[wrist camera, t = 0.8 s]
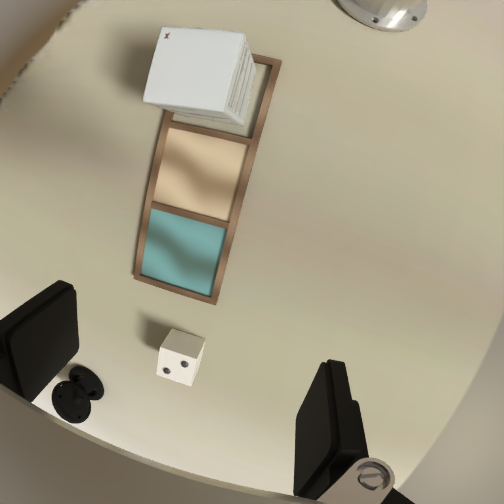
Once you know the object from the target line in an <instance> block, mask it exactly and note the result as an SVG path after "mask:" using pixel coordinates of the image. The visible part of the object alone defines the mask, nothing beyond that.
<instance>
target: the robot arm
mask: <svg viewBox="0 0 504 504" xmlns="http://www.w3.org/2000/svg"><path fill="white" fill-rule="evenodd" d="M337 1H338V3H339V4H340V5H341V7H342V8H343V9H344V10H345V11H346V12H347V13H348V14H350V15H351V16H352V17H354V18H355V19H356V20H358V21H360V22H362V23H363V24H365V25H367V26H370V27H372V28H375V29H379V30H382V31H389V32H402V31H406V30H409V29H411V28H413V27H415V26H416V25H418V24H419V23H420V22H421V21H422V19H423V18H424V17H425V14H426V12H427V0H337ZM373 21H374V22H375V23H374V22H373ZM78 349H79V336H78V321H77V299H76V290H74V287H73V285H72V284H69V283H67V282H64V281H62V280H58V281H57V282H55V283H54V284H52V285H50V286H49V287H47V288H46V289H44V290H43V291H41V292H40V293H39V294H37V295H36V296H34V297H33V298H31V299H30V300H28V301H27V302H25V303H24V304H22V305H21V306H20V307H18V308H17V309H15V310H14V311H13V312H11V313H10V314H8V315H7V316H6V317H4V318H3V319H1V320H0V504H415V503H413V502H412V501H410V500H409V499H408V498H406V497H405V496H404V495H402V494H401V493H399V492H398V491H397V490H395V489H394V488H393V485H394V483H395V476H394V473H393V471H392V469H391V468H390V466H388V465H387V464H386V463H385V462H383V461H381V460H379V459H376V458H369V455H368V449H367V444H366V438H365V433H364V428H363V422H362V417H361V412H360V407H359V404H358V402H357V401H356V400H352V397H351V392H350V387H349V382H348V376H347V372H346V367H345V363H344V362H341V361H336V360H331V359H329V360H328V361H327V362H326V363H325V362H322V363H321V364H320V367H319V369H318V371H317V373H316V375H315V378H314V380H313V382H312V384H311V386H310V388H309V391H308V393H307V395H306V397H305V399H304V401H303V403H302V405H301V407H300V409H299V411H298V414H297V417H296V433H295V465H294V489H293V494H294V496H291V495H286V494H281V493H276V492H270V491H264V490H259V489H254V488H249V487H245V486H240V485H236V484H231V483H227V482H223V481H219V480H215V479H211V478H207V477H203V476H200V475H196V474H193V473H189V472H186V471H183V470H179V469H176V468H173V467H170V466H167V465H164V464H161V463H158V462H155V461H153V460H150V459H147V458H144V457H142V456H139V455H136V454H134V453H131V452H129V451H126V450H124V449H121V448H119V447H117V446H114V445H112V444H110V443H107V442H105V441H103V440H101V439H98V438H96V437H94V436H92V435H90V434H88V433H86V432H83V431H81V430H79V429H77V428H75V427H73V426H72V425H70V424H68V423H66V422H64V421H62V420H60V419H58V418H56V417H55V416H53V415H51V414H49V413H47V412H46V411H44V410H42V409H40V408H39V407H37V406H35V405H34V404H32V403H31V402H32V401H33V400H34V399H35V398H36V397H37V396H38V395H39V393H40V392H41V391H42V390H43V389H44V388H45V387H46V386H47V385H48V383H49V382H50V381H51V380H52V379H53V378H54V377H55V376H56V375H57V374H58V373H59V371H60V370H61V369H62V368H63V367H64V366H65V365H66V364H67V363H68V362H69V361H70V360H71V359H72V358H73V356H74V355H75V354H76V353H77V352H78ZM297 496H298V497H297Z"/></svg>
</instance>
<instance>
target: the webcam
mask: <svg viewBox="0 0 504 504" xmlns="http://www.w3.org/2000/svg"><path fill="white" fill-rule="evenodd" d="M78 374H81V375H83V376H84V377H83V379H81V380H79V381H77V379H76V375H78ZM69 379H70V381H62V382H60V383H58V384H57V385H56V386H55V387H54V389H53V392H52V404H53V406H54V409H55V410H56V412H57V413H58V414H59V416H60V417H61V418H62V419H64V420H66V421H68V422H69V423H82V422H84V421H85V420H86V419H87V418H88V417H89V415H90V412H91V402H90V400H99V399H101V398H102V396H103V395H104V388H103V385H102V383H101V381H100V380H99V378H98V377H97V376H96V375H95V374H94V373H93V372H91V371H90V370H88V369H86V368H84V367H79V366H77V367H74V368H72V369H71V370H70V373H69ZM61 385H62V386H61ZM93 390H96V393H91V392H92V391H93Z"/></svg>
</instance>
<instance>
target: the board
mask: <svg viewBox="0 0 504 504" xmlns="http://www.w3.org/2000/svg"><path fill="white" fill-rule="evenodd" d="M251 55H252V58H253V61H254V62H255V63H259V64H264V65H268V66H272V69H271V73H270V76H269V80H268V83H267V87H266V90H265V94H264V97H263V101H262V104H261V108H260V111H259V115H258V118H257V122H256V125H255V129H254V133H253V136H252V139H249V138H245V137H241V136H237V135H233V134H228V133H224V132H220V131H215V130H211V129H206V128H202V127H197V126H192V125H187V124H182V123H177V122H172V119H173V115H174V112H171V111H169V110H166V112H165V116H164V119H163V123H162V127H161V131H160V135H159V140H158V144H157V148H156V153H155V157H154V161H153V166H152V171H151V176H150V180H149V185H148V191H147V196H146V201H145V207H144V212H143V218H142V224H141V230H140V236H139V243H138V249H137V257H136V264H135V271H134V279H135V280H138V281H141V282H144V283H147V284H150V285H153V286H156V287H159V288H162V289H165V290H168V291H171V292H174V293H177V294H181V295H184V296H187V297H190V298H193V299H196V300H200V301H203V302H206V303H209V304H213V305H216V304H217V300H218V296H219V292H220V288H221V284H222V280H223V276H224V272H225V269H226V265H227V261H228V257H229V253H230V249H231V245H232V241H233V237H234V234H235V230H236V226H237V222H238V218H239V214H240V211H241V207H242V203H243V199H244V196H245V192H246V188H247V184H248V181H249V177H250V173H251V170H252V166H253V162H254V159H255V155H256V151H257V148H258V144H259V140H260V137H261V133H262V130H263V126H264V122H265V119H266V115H267V112H268V108H269V105H270V101H271V98H272V94H273V91H274V87H275V84H276V80H277V77H278V73H279V70H280V66H281V63H282V60H278V59H274V58H269V57H265V56H260V55H255V54H251Z"/></svg>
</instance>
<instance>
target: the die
mask: <svg viewBox="0 0 504 504" xmlns="http://www.w3.org/2000/svg"><path fill="white" fill-rule="evenodd" d="M205 340H206V339H203V338H200V337H197V336H194V335H191V334H188V333H185V332H182V331H179V330H176V329H173V328H172V329H171V331H170V332H169V334H168V335H167V337H166V338H165V340H164V341H163V343H162V345H161V346H160V351H159V358H158V366H157V374H156V375H159V376H162V377H165V378H168V379H170V380H173V381H176V382H179V383H182V384H185V385H188V386H191V385H192V383H193V380H194V378H195V375H196V373H197V371H198V368H199V366H200V362H201V357H202V353H203V349H204V345H205Z"/></svg>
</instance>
